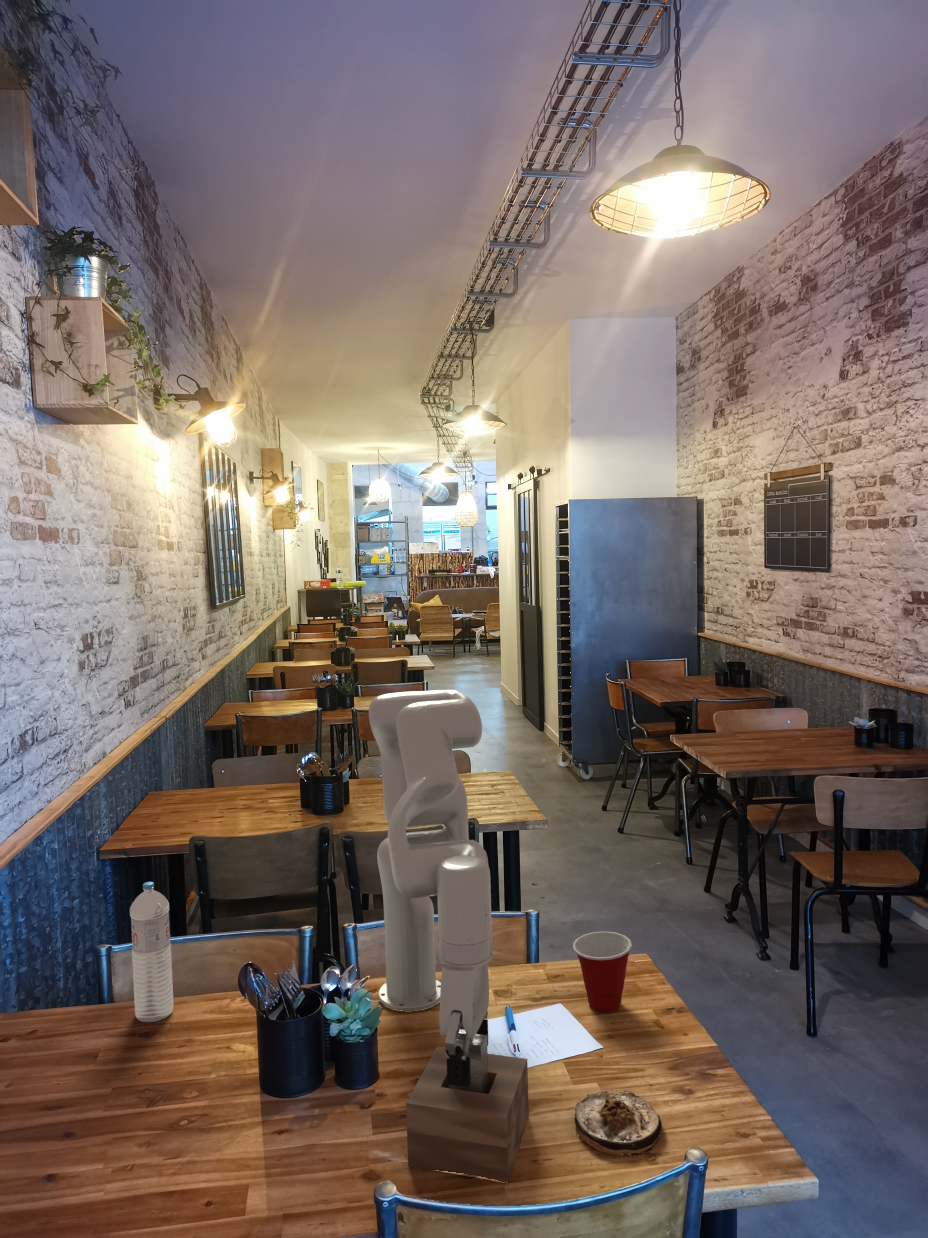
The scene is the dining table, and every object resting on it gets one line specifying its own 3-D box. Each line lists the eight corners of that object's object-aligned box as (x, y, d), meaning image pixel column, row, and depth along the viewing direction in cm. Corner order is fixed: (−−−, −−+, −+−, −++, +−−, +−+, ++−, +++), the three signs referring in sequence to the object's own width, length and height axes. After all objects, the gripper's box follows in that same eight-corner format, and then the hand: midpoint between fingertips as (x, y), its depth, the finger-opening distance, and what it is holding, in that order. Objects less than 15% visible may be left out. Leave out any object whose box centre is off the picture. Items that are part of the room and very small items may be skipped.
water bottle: (166, 1024, 154) (159, 890, 153) (129, 1024, 154) (122, 890, 153) (179, 1004, 161) (173, 876, 160) (143, 1005, 161) (137, 877, 160)
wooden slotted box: (438, 1104, 129) (437, 1047, 128) (528, 1118, 125) (527, 1059, 124) (408, 1166, 115) (406, 1103, 115) (507, 1184, 111) (506, 1118, 111)
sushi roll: (684, 1163, 115) (683, 1134, 115) (576, 1170, 114) (575, 1140, 114) (655, 1096, 130) (654, 1070, 130) (559, 1102, 129) (558, 1075, 129)
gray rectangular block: (456, 1097, 122) (454, 1030, 121) (488, 1103, 120) (487, 1035, 120) (449, 1110, 119) (447, 1041, 119) (482, 1116, 118) (480, 1047, 117)
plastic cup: (567, 993, 161) (566, 932, 161) (622, 988, 162) (621, 928, 162) (581, 1023, 150) (580, 957, 150) (640, 1018, 152) (639, 953, 151)
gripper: (457, 919, 128) (460, 1029, 129) (420, 972, 111) (424, 1097, 112) (505, 924, 126) (508, 1035, 127) (475, 978, 109) (478, 1106, 110)
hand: (468, 1064), depth 119 cm, fingers open, 9 cm apart
